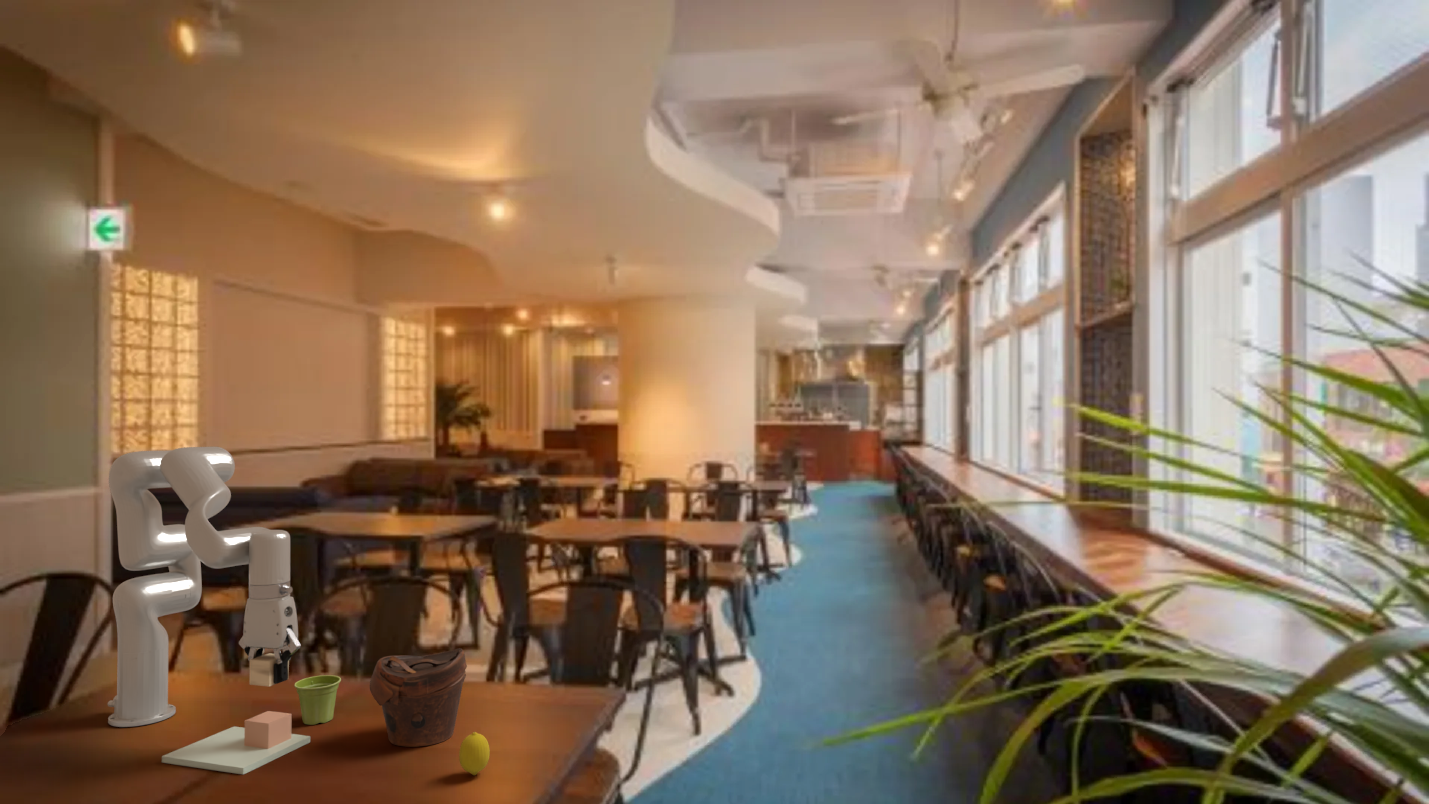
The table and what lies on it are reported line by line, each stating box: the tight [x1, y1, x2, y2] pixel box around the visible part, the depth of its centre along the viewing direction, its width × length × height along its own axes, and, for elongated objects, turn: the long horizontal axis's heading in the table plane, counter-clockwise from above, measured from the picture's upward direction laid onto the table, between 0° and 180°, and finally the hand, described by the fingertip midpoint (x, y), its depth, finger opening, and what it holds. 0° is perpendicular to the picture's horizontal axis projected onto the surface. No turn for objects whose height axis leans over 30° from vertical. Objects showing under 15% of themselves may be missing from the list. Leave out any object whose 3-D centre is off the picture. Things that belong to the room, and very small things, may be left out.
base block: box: [244, 710, 293, 749], centre depth 174 cm, size 6×6×5 cm
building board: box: [161, 725, 311, 775], centre depth 172 cm, size 20×17×1 cm
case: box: [369, 647, 468, 748], centre depth 180 cm, size 18×20×18 cm
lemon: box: [458, 731, 491, 776], centre depth 160 cm, size 6×6×8 cm
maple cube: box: [249, 652, 290, 688], centre depth 174 cm, size 5×5×5 cm
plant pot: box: [293, 674, 342, 726], centre depth 190 cm, size 9×9×9 cm
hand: (269, 679), depth 174 cm, fingers closed on maple cube, 5 cm apart
